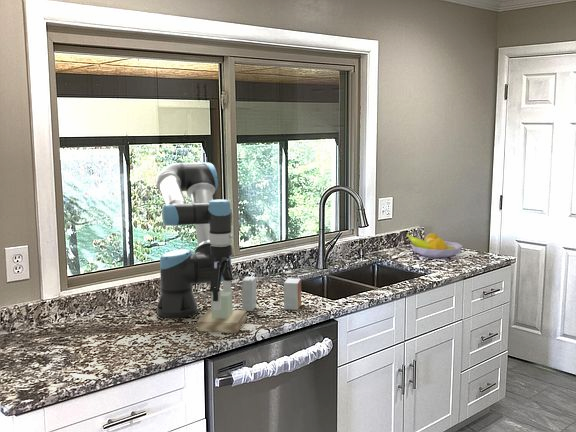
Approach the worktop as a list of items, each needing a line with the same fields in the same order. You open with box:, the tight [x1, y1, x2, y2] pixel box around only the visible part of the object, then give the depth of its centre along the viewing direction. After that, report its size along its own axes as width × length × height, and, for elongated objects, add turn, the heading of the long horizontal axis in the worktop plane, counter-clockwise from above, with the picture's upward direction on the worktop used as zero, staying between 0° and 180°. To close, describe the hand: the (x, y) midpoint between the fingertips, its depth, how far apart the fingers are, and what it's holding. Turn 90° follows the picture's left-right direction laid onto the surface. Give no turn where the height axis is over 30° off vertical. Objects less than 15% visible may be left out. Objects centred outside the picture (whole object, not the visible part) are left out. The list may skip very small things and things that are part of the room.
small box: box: [283, 277, 302, 311], centre depth 235 cm, size 8×6×10 cm
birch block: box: [196, 308, 247, 334], centre depth 215 cm, size 14×14×4 cm
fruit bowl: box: [406, 232, 463, 259], centre depth 325 cm, size 28×27×11 cm
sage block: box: [210, 290, 234, 319], centre depth 214 cm, size 6×6×8 cm
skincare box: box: [241, 276, 257, 312], centre depth 232 cm, size 6×4×12 cm
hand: (222, 304), depth 214 cm, fingers open, 13 cm apart
